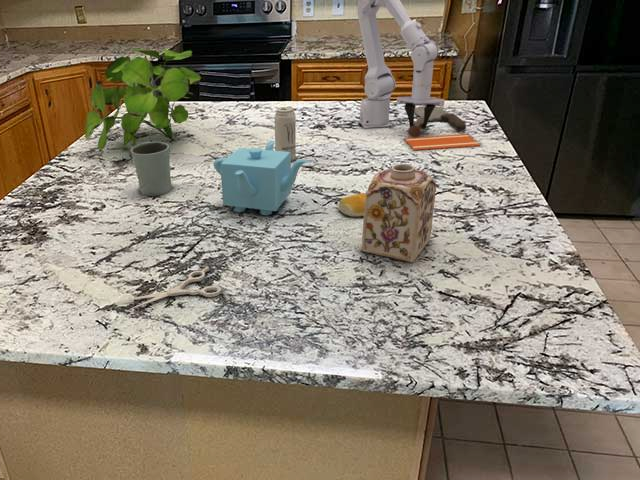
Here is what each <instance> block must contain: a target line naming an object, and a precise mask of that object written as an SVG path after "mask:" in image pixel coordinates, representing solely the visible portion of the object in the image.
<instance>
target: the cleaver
mask: <svg viewBox="0 0 640 480" xmlns="http://www.w3.org/2000/svg"><path fill="white" fill-rule="evenodd" d="M425 107H426V106H418V107H415V111H414V114H416V115H417V116H418V117H424V108H425ZM430 121H431V122H435V121H441V122H448V123H449V125H450V126H451V127H453V128H454V129H455V131H459V132H460V131H465V130H466V129H467V124H466V123H465V121H464V120H462V119H461V118H460V117H459V116H458V115H456V114H454V113H452V112H451V113H450V112H448V111H446V110H444V109H443V108H442V107H440V106H435V108H434V109H433V111H432V113H431V115H430V117H429V120H428V122H430Z"/></svg>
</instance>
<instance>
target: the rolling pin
mask: <svg viewBox="0 0 640 480" xmlns="http://www.w3.org/2000/svg"><path fill="white" fill-rule="evenodd" d="M423 123H424V117H420V116H418V118H417V119H416V120H414V124H413V125H412V126H411V127H410V126H409V129H408V135H409V136H410V138H416V137H419V135H420V134H421V133H422V132H423V130H424V129H423Z"/></svg>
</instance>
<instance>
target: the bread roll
mask: <svg viewBox="0 0 640 480" xmlns="http://www.w3.org/2000/svg"><path fill="white" fill-rule="evenodd" d="M365 198H366V192H364V193H356V194H352V195H349V196H345V197H343V198H342V199H341V200H340V201H339V203H338V210H339V211H340V212H341V213H343V215H345V216H348V217H353V218H354V217H355V218H357V217H364V208H365Z"/></svg>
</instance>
